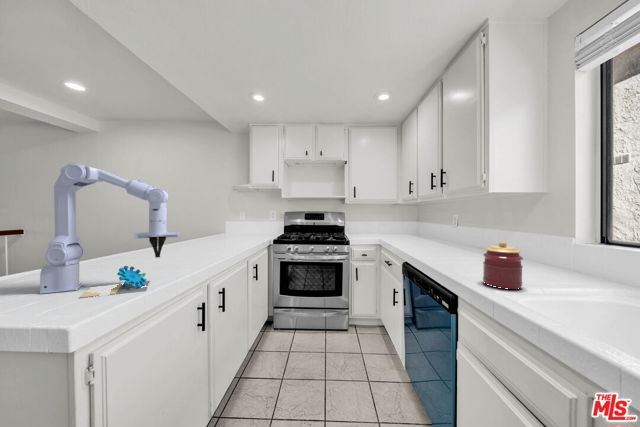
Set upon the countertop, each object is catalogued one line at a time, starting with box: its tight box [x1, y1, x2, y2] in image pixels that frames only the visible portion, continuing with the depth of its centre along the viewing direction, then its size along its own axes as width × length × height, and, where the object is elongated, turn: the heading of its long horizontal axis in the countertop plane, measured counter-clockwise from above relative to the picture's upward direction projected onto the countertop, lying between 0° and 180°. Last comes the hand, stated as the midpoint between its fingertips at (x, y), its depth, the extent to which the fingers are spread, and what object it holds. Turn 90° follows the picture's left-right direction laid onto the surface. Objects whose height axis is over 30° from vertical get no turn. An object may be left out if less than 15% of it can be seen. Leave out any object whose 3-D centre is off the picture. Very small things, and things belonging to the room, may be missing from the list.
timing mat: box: [78, 280, 151, 300], centre depth 95 cm, size 18×15×1 cm
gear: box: [116, 265, 147, 288], centre depth 97 cm, size 11×6×10 cm
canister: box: [482, 240, 524, 289], centre depth 106 cm, size 13×13×18 cm
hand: (157, 257), depth 101 cm, fingers closed
